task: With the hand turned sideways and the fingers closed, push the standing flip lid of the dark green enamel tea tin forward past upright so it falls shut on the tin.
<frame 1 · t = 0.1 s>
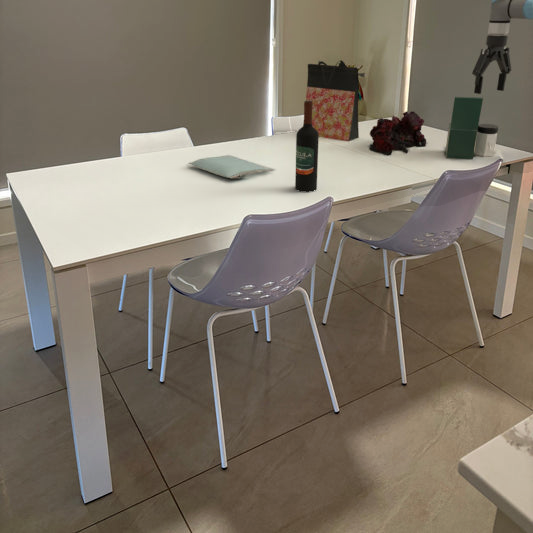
hand: (488, 92, 235), 27 cm above the table, tool pointing down, fingers open, 13 cm apart
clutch: (229, 170, 229), on the table
gift bag: (332, 136, 281), on the table
tea tin: (458, 154, 250), on the table
jar: (483, 154, 251), on the table
tin lid: (466, 113, 235), point 19 cm above the table, hinge at 105.0°
flower arrangement: (396, 147, 263), on the table
wine bottle: (305, 189, 207), on the table
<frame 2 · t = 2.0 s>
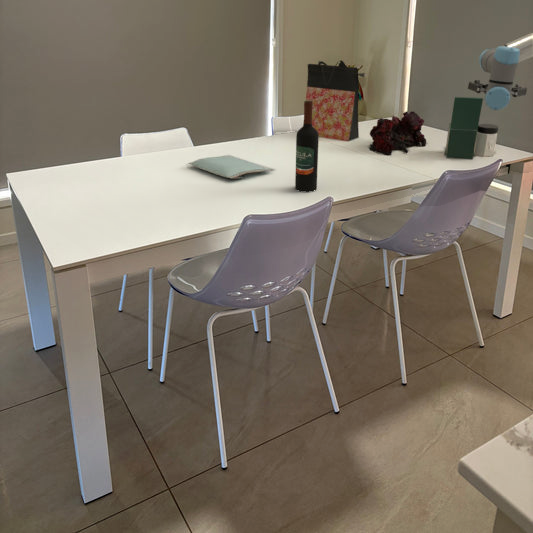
hand: (496, 85, 222), 31 cm above the table, tool horizontal, fingers open, 13 cm apart
nothing on the table moved.
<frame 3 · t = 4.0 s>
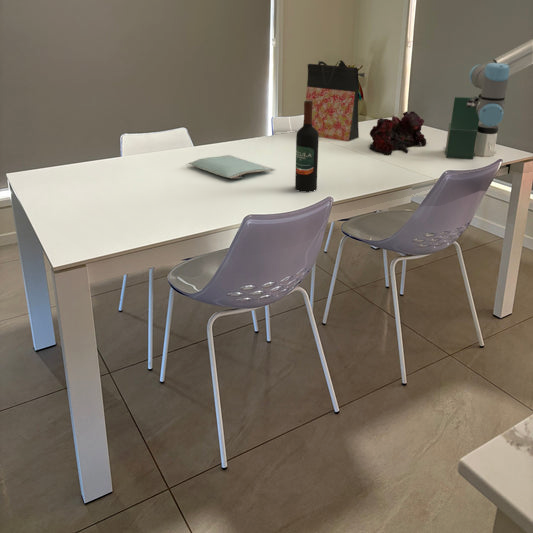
hand: (481, 97, 226), 26 cm above the table, tool horizontal, fingers closed
nothing on the table moved.
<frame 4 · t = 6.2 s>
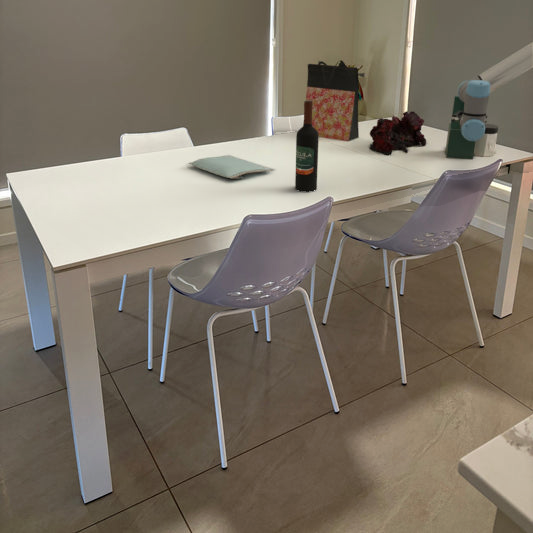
hand: (466, 110, 234), 20 cm above the table, tool horizontal, fingers closed
tin lid: (466, 113, 235), point 19 cm above the table, hinge at 101.1°, touching gripper
everything else where it was.
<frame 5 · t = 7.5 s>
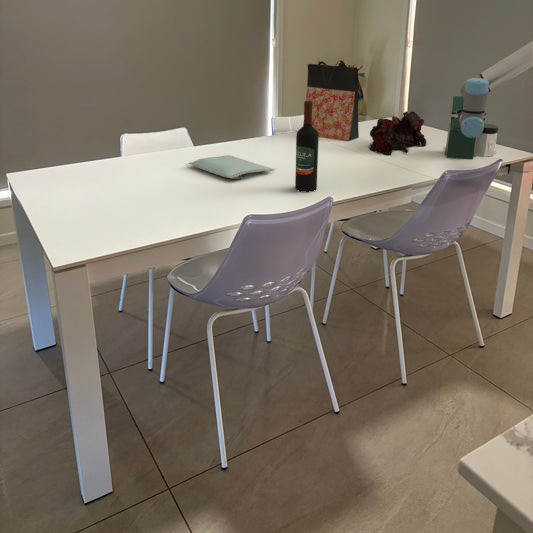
hand: (465, 108, 238), 20 cm above the table, tool horizontal, fingers closed
tin lid: (465, 112, 239), point 18 cm above the table, hinge at 61.0°
everything else where it was.
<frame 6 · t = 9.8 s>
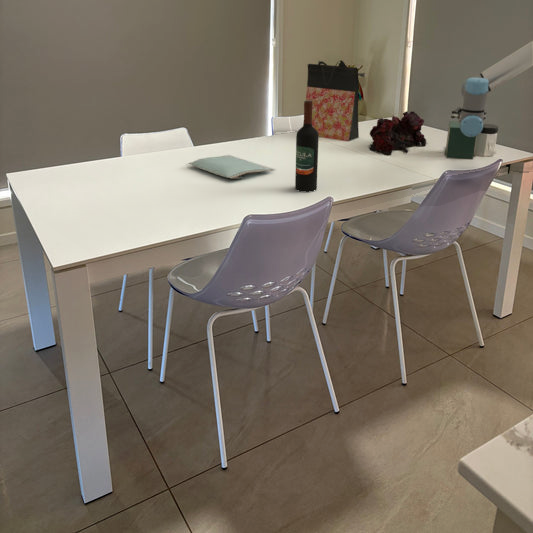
hand: (466, 107, 239), 20 cm above the table, tool horizontal, fingers closed
tin lid: (462, 125, 245), point 12 cm above the table, hinge at -0.2°
everything else where it was.
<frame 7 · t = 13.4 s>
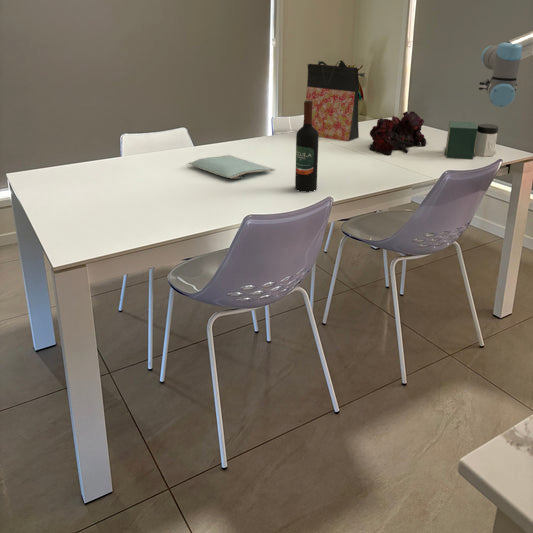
hand: (494, 80, 224), 32 cm above the table, tool horizontal, fingers closed
nothing on the table moved.
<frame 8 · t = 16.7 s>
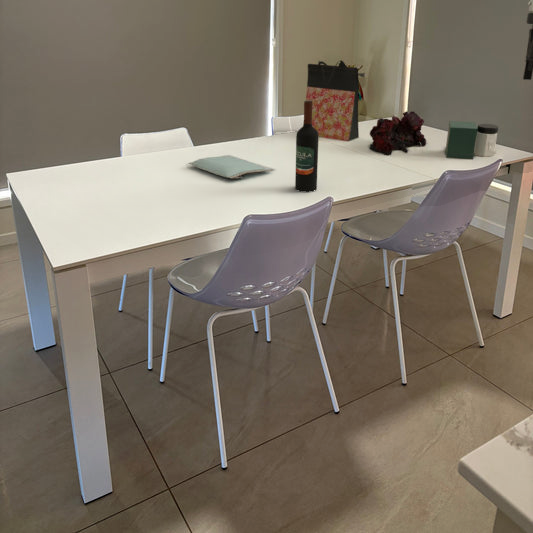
hand: (527, 79, 225), 32 cm above the table, tool pointing down, fingers closed
nothing on the table moved.
at the end: tin lid at +0° (first picture: +105°); jar moved 0.2 cm from its start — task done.
